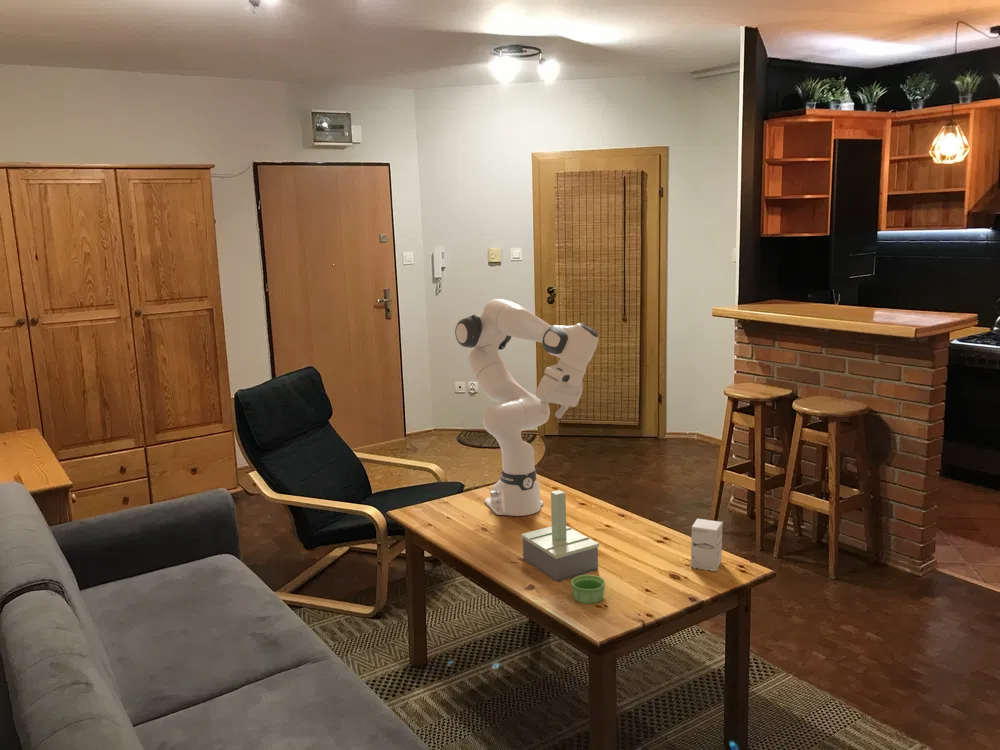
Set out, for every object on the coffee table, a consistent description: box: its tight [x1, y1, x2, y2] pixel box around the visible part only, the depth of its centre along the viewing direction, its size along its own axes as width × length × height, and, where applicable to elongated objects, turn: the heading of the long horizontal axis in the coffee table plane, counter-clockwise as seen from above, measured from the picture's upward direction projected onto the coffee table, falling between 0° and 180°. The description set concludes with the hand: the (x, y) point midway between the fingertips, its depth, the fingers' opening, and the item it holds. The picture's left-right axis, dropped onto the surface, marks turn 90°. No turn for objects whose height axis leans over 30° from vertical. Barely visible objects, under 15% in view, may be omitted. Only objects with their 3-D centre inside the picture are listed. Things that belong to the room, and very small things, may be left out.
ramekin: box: [570, 574, 606, 605], centre depth 210 cm, size 9×9×4 cm
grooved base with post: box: [520, 489, 600, 559], centre depth 228 cm, size 19×15×15 cm
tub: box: [522, 538, 599, 583], centre depth 230 cm, size 18×14×7 cm
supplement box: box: [690, 518, 724, 572], centre depth 225 cm, size 7×7×13 cm
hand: (549, 415), depth 246 cm, fingers open, 8 cm apart
